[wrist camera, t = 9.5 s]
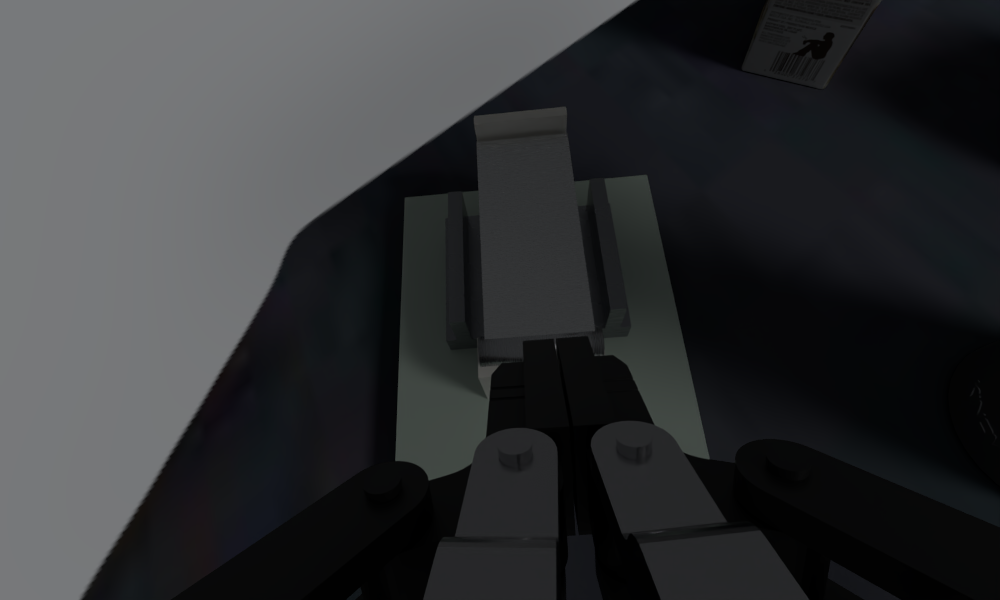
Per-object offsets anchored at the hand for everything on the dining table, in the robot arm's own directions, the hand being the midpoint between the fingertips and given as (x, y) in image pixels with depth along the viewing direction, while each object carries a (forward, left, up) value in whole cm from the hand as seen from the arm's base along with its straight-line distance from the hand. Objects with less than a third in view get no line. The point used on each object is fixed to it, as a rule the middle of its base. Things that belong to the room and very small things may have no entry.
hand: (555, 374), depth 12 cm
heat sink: (0, -10, -15) cm, 19 cm away
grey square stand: (0, -8, -17) cm, 19 cm away
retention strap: (0, -4, -10) cm, 11 cm away
